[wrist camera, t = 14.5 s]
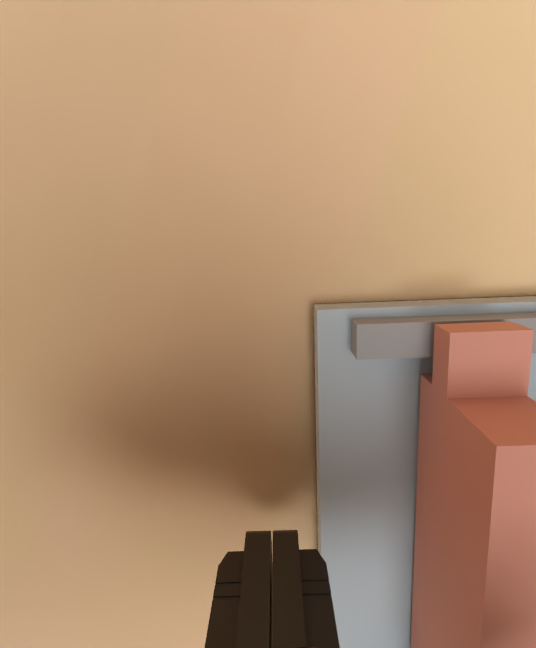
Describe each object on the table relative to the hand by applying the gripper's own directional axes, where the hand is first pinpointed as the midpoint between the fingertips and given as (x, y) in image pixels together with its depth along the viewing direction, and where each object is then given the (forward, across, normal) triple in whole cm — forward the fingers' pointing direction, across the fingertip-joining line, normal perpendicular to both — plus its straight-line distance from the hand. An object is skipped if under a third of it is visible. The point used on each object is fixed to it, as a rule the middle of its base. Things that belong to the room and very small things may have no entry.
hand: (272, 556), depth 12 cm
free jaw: (+1, -6, 0) cm, 6 cm away
